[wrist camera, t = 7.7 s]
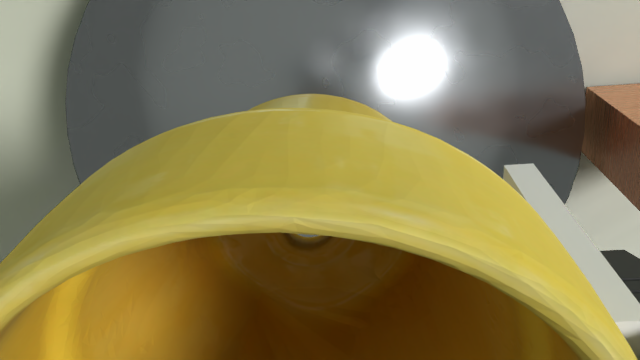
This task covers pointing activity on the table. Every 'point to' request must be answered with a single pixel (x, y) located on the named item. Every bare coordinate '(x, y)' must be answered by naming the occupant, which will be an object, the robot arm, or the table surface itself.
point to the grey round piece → (355, 76)
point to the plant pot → (298, 252)
